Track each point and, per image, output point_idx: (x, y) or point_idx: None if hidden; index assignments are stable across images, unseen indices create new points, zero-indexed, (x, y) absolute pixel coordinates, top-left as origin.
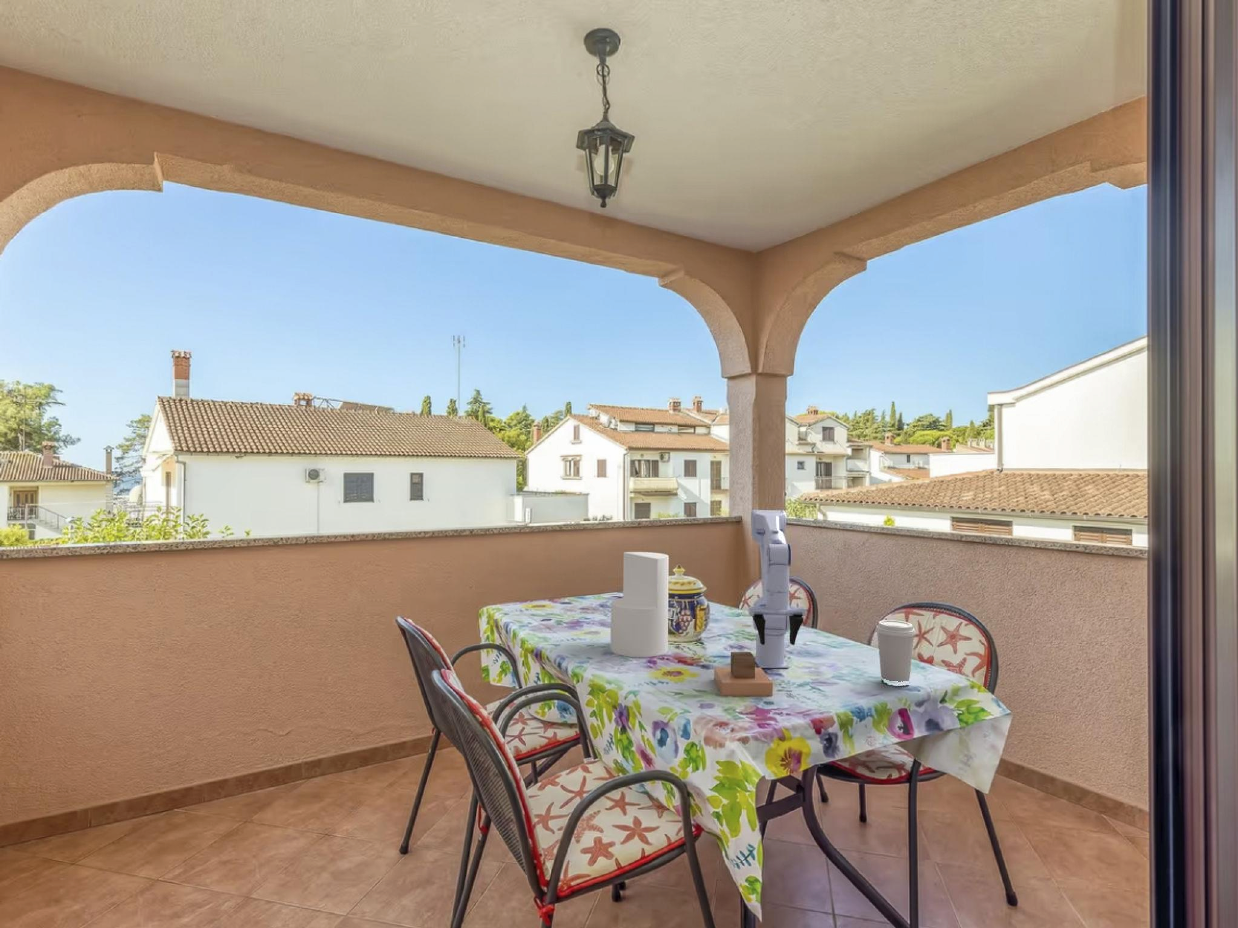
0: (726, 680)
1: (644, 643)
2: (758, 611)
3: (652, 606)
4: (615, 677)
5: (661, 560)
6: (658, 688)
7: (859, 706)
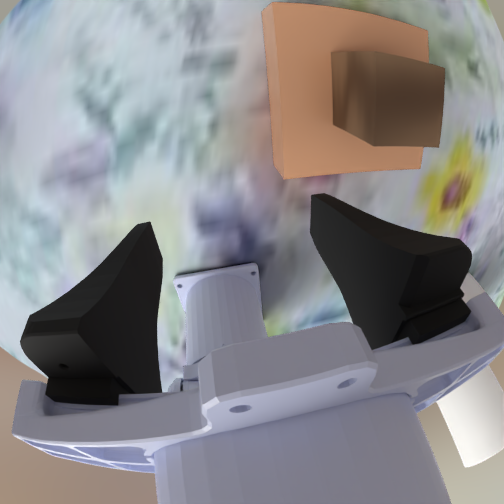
0: (416, 46)
1: (466, 291)
2: (476, 331)
3: None
4: None
5: None
6: (491, 104)
7: (17, 11)
